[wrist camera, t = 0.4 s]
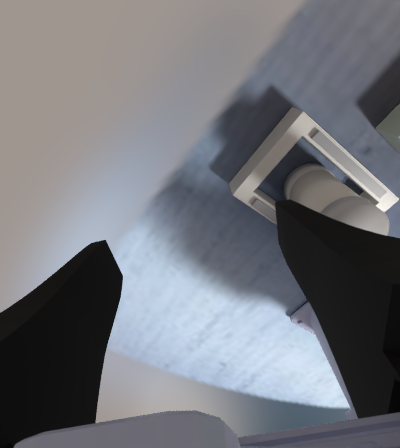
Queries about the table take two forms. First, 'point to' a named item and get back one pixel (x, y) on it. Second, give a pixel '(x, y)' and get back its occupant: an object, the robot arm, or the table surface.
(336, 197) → the cylinder
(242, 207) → the table surface
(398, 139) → the parts tray
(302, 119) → the holder
